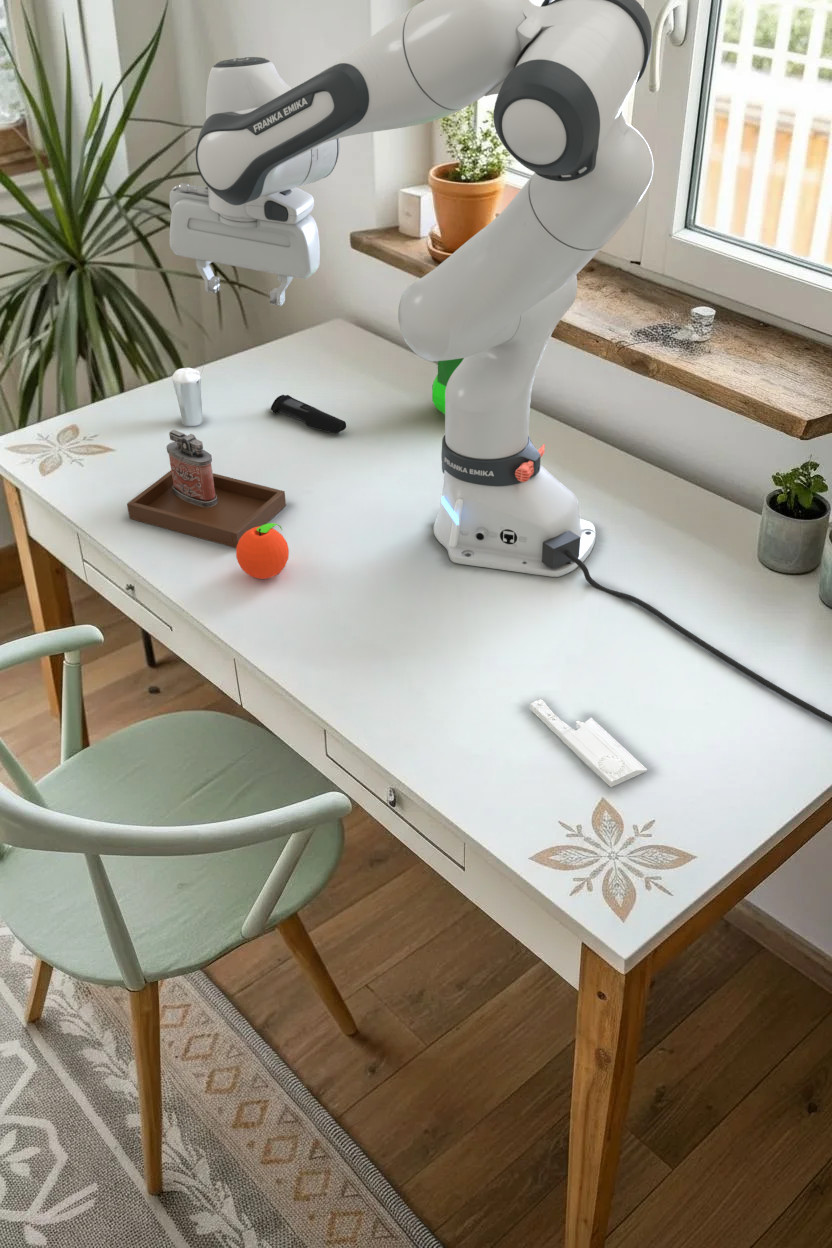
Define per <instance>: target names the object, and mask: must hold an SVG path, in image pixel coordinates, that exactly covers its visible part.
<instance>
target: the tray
mask: <svg viewBox="0 0 832 1248" xmlns="http://www.w3.org/2000/svg"><path fill="white" fill-rule="evenodd" d="M212 473H213V481H214V488H215V494H216V495H217V504H216V505H214V506H212V507H202V506H198V505H195V504H192V503H190V502H187V501H185V500H183V499H181V498H180V497H178V496H177V495H175V494H174V493H173V478H172V472H171V470H169V471H168V472H166V474H164V475H163V476H161V477H160V478H158V479H157V480H156V481H155V482H153V483H152V484H150V486H148V487H146V489H144V490H143V491H142V492H140V493H138V494H137V495H136V496H134V497H133V498H132V499H131V500H130V501H128V502H127V503H126V507H127V512H128V513H127V514H128V518H129V520H134V521H137V522H140V523H144V524H148V525H151V526H154V527H158V528H162V529H165V530H168V531H169V530H170V531H172V532H177V533H180V534H184V535H186V536H191V537H195V538H198V539H201V540H205V541H208V542H213V543H216V544H218V545H219V544H220V545H223V546H227V547H231V548H234V549H236V547H237V544H238V541H239V539H240V538H241V537H242V535H243V534H244V533H245V532H246V531H248V530H250V529H252V528H254V527H258V526H262V525H264V524H268V523H270V521H271V520H272V519H274V518H275V517H276V516H277V515H278V514H279V513H280V512H281V511H282V510H284V509H285V508H286V507H287V502H286V491H285V490H281V489H277V488H275V487H274V488H273V487H269V486H265V485H262V484H258V483H253V482H249V481H246V480H242V479H239V478H238V479H237V478H234V477H230V476H225V475H222V474H218V473H214V472H212Z"/></svg>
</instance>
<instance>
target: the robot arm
mask: <svg viewBox="0 0 832 1248" xmlns="http://www.w3.org/2000/svg"><path fill="white" fill-rule="evenodd" d="M652 44H653V31H652V25H651V21H650V19H649V16H648V14H647V12H646V10H645V9H644V8H643V6H642V5H641V4H640V3H639V2H638V1H637V0H543V2H542V3H541V5H540V6H538V5H535V4H533V3H532V2H531V0H422V1H420V2H419V3H417V4H415V5H414V6H413V7H411V8H409V9H408V10H406V11H405V12H403V13H402V14H401V15H399V16H398V17H396V18H395V19H394V20H392V21H391V22H389V23H388V24H387V25H385V26H383V28H381V29H380V30H378V31H377V32H376V33H374V34H373V35H372V36H370V37H369V38H368V39H366V40H365V41H364V42H362V43H361V44H359V45H358V46H356V47H355V48H354V49H353V50H351V51H349V52H348V53H346V54H345V55H344V56H342V57H341V58H339V59H338V60H336V61H335V62H333V63H332V64H331V65H330V66H328V67H327V68H325V69H324V70H323V71H321V72H320V73H318V74H316V75H314V76H312V77H311V78H309V79H308V80H305V81H304V82H302V83H300V84H298V85H297V86H295V87H291V86H290V85H289V84H288V83H286V81H284V80H283V79H282V77H281V76H280V75H279V72H278V69H277V68H276V66H275V64H274V62H272V61H271V60H269V59H266V58H265V57H260V56H259V57H258V56H248V57H241V58H239V57H236V58H231V59H225V60H221V61H219V62H216V64H214V65H213V66H212V67H211V69H210V72H209V75H208V78H207V85H206V93H205V94H206V95H205V121H204V123H203V125H202V127H201V129H200V132H199V134H198V137H197V140H196V146H195V164H196V168H197V170H198V173H199V175H200V177H201V179H202V181H203V182H204V184H205V185H206V186H203V185H194V184H193V185H192V184H190V183H186V182H180V183H179V184H178V185H174V186H173V187H172V188H171V190H170V191H169V195H168V197H169V209H170V211H171V215H170V224H169V248H170V249H171V251H172V253H173V255H175V256H179V257H184V258H189V259H193V260H194V259H195V267H196V269H197V270H198V272H199V274H200V276H201V277H202V280H204V291H205V292H207V293H213V294H217V293H218V292H219V291H220V290H221V284H220V283H221V277H220V276H215V274H214V272H213V270H212V267H211V266H210V264H212V263H215V264H222V265H227V266H232V267H238V268H242V269H248V270H253V271H257V272H258V271H259V272H262V273H263V272H265V273H270V274H273V275H274V274H275V275H277V282H279V283H280V284H279V286H278V287H274V288H273V289H272V290H270V291H269V298H270V299H269V304H270V305H273V306H279V307H281V306H283V305H284V304H285V302H286V290H287V289H288V287H289V286H290V284H291V282H292V281H293V280H294V278H295V279H302V280H307V279H309V278H311V276H312V275H313V274H315V273H316V272H317V270H318V269H319V267H320V264H321V246H320V245H321V244H320V234H319V228H318V224H317V222H316V219H315V218H314V217H313V216H312V215H311V214H310V213H311V212H312V211H313V210H314V208H315V199H314V197H313V195H312V194H310V193H309V192H307V191H305V190H303V189H301V188H299V187H303V186H307V185H310V184H313V183H316V182H319V181H321V180H323V179H325V178H328V176H330V175H331V174H332V173H333V171H334V169H335V167H336V165H337V163H338V160H339V154H340V139H341V138H344V137H349V136H350V137H351V136H355V135H360V134H361V135H362V134H368V133H375V132H382V131H390V130H396V129H403V128H408V127H413V126H414V127H415V126H418V125H424V124H427V123H431V122H434V121H438V120H441V119H444V118H446V117H448V116H451V115H453V114H455V113H458V112H459V111H461V110H463V109H465V108H467V107H468V106H470V105H472V104H474V103H475V102H477V101H479V100H480V99H482V98H483V97H488V96H493V95H497V96H496V99H495V102H494V106H493V107H494V108H493V114H492V115H493V117H492V119H493V126H494V129H495V132H496V135H497V136H498V138H499V140H500V142H501V144H502V145H503V147H504V148H505V149H506V150H507V152H508V153H509V155H511V156H512V157H513V158H514V159H515V160H516V161H517V162H518V163H520V165H522V166H524V168H526V169H528V170H529V171H531V172H533V174H532V175H531V176H530V178H529V179H527V181H526V183H524V185H523V186H522V188H521V189H520V190H519V191H518V192H517V194H516V195H515V196H514V197H513V198H512V200H511V201H510V202H509V203H508V204H507V205H506V206H505V208H504V209H503V210H502V212H500V213H499V214H498V215H497V216H495V218H494V219H493V220H492V221H490V222H489V223H488V224H487V225H486V226H484V227H483V228H482V229H480V230H479V231H478V232H477V233H476V234H474V235H473V236H471V237H470V238H469V239H468V240H467V241H466V242H464V244H462V245H461V246H459V248H457V249H456V250H454V252H453V253H452V254H451V255H449V256H448V257H447V258H446V259H444V260H443V261H442V262H441V263H439V264H438V265H437V266H436V267H434V269H432V270H431V271H429V272H428V273H426V274H425V275H424V276H422V277H420V278H419V279H418V280H416V281H414V282H413V283H411V284H409V286H407V287H406V288H405V289H404V291H402V292H403V293H402V294H401V296H400V299H399V304H398V310H397V311H398V313H397V318H398V319H397V320H398V326H399V331H400V333H401V335H402V338H403V339H404V341H405V343H406V344H407V346H408V347H409V348H410V350H411V351H412V352H413V353H414V354H416V355H417V356H418V357H419V358H420V359H422V360H425V361H427V362H438V361H445V360H453V359H460V358H464V359H463V360H462V362H461V363H460V365H459V366H458V367H457V368H456V369H455V371H454V372H453V373H452V375H451V377H450V378H449V380H448V383H447V386H446V390H445V414H444V435H443V436H442V439H441V452H440V453H441V454H440V455H441V456H440V457H441V472H442V474H443V481H442V490H441V496H440V501H439V507H438V512H437V516H436V518H435V521H434V524H433V534H434V537H435V538H436V540H437V541H438V542H439V543H440V544H441V545H442V546H443V547H444V548H445V549H446V550H447V554H448V558H449V559H450V561H451V562H453V563H455V564H459V565H466V566H472V567H480V568H487V569H494V570H502V571H508V572H515V573H523V574H528V575H529V574H531V575H537V576H543V577H551V578H558V577H561V576H562V577H563V576H564V575H567V574H569V573H571V572H573V571H574V570H576V569H577V568H579V569H580V570H581V572H582V573H583V575H584V578H585V580H586V582H587V583H589V585H590V586H591V587H593V588H595V589H597V590H599V591H602V592H603V593H607V594H608V595H612V596H614V597H616V598H620V599H622V600H626V601H629V602H632V603H634V604H636V605H637V606H639V607H641V608H643V609H645V610H646V611H648V612H650V613H651V614H653V615H654V616H655V617H657V618H658V619H660V620H661V621H662V622H663V623H665V624H667V625H668V626H669V627H671V628H672V629H674V630H675V631H677V632H678V633H680V634H681V635H683V636H684V637H686V638H688V639H689V640H691V641H693V642H694V643H695V644H697V645H699V646H700V647H701V648H703V649H705V650H706V651H708V652H709V653H711V654H713V655H714V656H715V657H717V658H719V659H720V660H722V661H724V662H725V663H727V664H728V665H730V666H732V667H733V668H735V670H738V671H740V672H741V673H743V674H744V675H746V676H748V677H749V678H751V679H753V680H754V681H756V682H757V683H759V684H761V685H762V686H765V687H766V688H768V689H769V690H771V691H773V692H774V693H777V694H778V695H780V696H782V697H783V698H785V699H787V700H788V701H790V702H792V703H794V704H795V705H797V706H799V707H801V708H802V709H804V710H806V711H808V712H810V713H812V714H813V715H815V716H817V717H819V718H821V719H823V720H825V721H826V722H828V723H830V724H832V715H830V714H828V713H826V712H825V711H822V710H821V709H820V708H817V707H816V706H813V705H812V704H810V703H809V702H807V701H805V700H803V699H801V698H799V697H797V696H796V695H794V694H792V693H790V692H788V691H787V690H785V689H783V688H781V686H778V685H776V684H775V683H773V682H771V681H770V680H768V679H766V678H764V677H763V676H761V675H759V674H758V673H756V672H755V671H752V670H751V669H749V668H748V667H746V666H744V665H743V664H742V663H740V662H738V661H736V660H735V659H733V658H732V657H729V655H727V654H725V653H724V652H721V651H720V650H719V649H717V648H716V647H714V646H713V645H711V644H709V643H708V642H706V641H704V640H703V639H702V638H700V637H698V636H697V635H695V634H693V633H692V632H691V631H690V630H687V629H686V628H684V627H683V626H682V625H680V624H678V623H677V622H675V621H674V620H673V619H671V618H670V617H669V616H667V615H665V614H664V613H662V612H661V611H660V610H658V609H657V608H655V607H654V606H652V605H650V604H649V603H647V602H645V601H644V600H642V599H640V598H638V597H636V596H633V595H631V594H628V593H624V592H620V591H617V590H613V589H610V588H607V587H605V586H603V585H601V584H600V583H599V582H597V581H595V579H593V578H592V577H591V574H590V571H589V568H588V567H587V565H586V564H585V563H584V562H585V561H586V560H587V558H588V557H589V556H590V554H591V552H592V550H593V549H594V547H595V543H596V538H597V537H596V528H595V525H594V523H592V522H591V521H589V520H586V519H584V518H581V513H580V512H581V510H580V505H579V502H578V501H579V500H578V498H577V496H576V495H575V493H574V492H573V491H572V490H570V489H569V488H568V487H566V486H565V485H564V484H563V483H561V482H560V481H559V480H558V478H556V477H555V476H553V475H552V474H551V473H550V472H549V471H548V470H547V469H546V468H545V467H544V466H542V465H541V458H542V457H543V456H544V454H545V452H546V450H545V448H546V444H544V443H543V444H542V445H541V446H540V447H539V448H538V449H537V448H536V446H535V445H534V444H533V441H532V439H531V437H530V435H529V429H530V413H531V402H532V401H531V400H532V391H533V387H534V381H535V379H536V375H537V372H538V368H539V366H540V364H541V361H542V358H543V355H544V352H545V351H546V348H547V345H548V343H549V341H550V339H551V337H552V334H553V333H554V331H555V329H556V328H557V326H558V325H559V323H560V321H561V320H562V318H563V317H564V316H565V315H566V314H567V312H568V311H570V309H571V308H572V306H573V305H574V303H575V300H576V297H577V293H578V276H577V275H578V274H579V273H580V272H581V271H582V269H584V268H585V266H586V265H587V264H588V263H589V262H590V261H591V260H593V258H595V256H596V255H597V254H598V253H599V252H601V250H602V249H603V248H604V247H605V246H606V245H607V244H608V243H609V242H610V241H611V239H612V238H613V237H614V236H615V235H616V234H617V233H618V232H619V230H620V229H621V228H622V226H623V225H624V224H625V223H626V222H627V221H628V219H629V218H630V216H631V215H632V213H633V212H634V211H635V209H636V208H637V207H638V205H639V203H640V202H641V200H642V198H643V197H644V195H645V194H646V192H647V190H648V188H649V186H650V184H651V182H652V178H653V175H654V159H653V158H654V157H653V153H652V151H651V148H650V146H649V143H648V142H647V141H646V139H645V138H644V136H643V135H642V134H641V133H640V132H639V131H638V130H637V129H636V128H635V127H633V126H632V125H631V124H629V123H627V122H626V119H625V116H624V112H623V111H622V109H623V107H624V105H625V103H626V102H627V100H628V99H629V96H630V95H631V93H632V92H633V89H634V87H635V85H636V84H637V83H638V82H639V81H640V79H641V78H642V76H643V75H644V73H645V71H646V69H647V65H648V62H649V59H650V56H651V51H652V46H653V45H652Z"/></svg>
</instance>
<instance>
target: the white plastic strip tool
mask: <svg viewBox="0 0 832 1248" xmlns="http://www.w3.org/2000/svg"><path fill="white" fill-rule="evenodd" d="M529 710H531V712H532V713H534V715H535V716H537V717H538V718H539V719H540V720H541V721H542V723H544V724H545V725H546V726H547V728H549V729H550V730H551V731H552V732H553V733H554V734H555V735H556V736H557V737H558V738H559V739H560V740H561V741H562V742H563V743H564V744H565V745H566V746H567V747H568V748H569V749H570V750H571V751H572V752H573V753H574V754H575V755H576V756H577V757H578V758H579V759H580V760H581V761H582V762H583V763H584V764H585V765H586V766H587V767H588V768H589V769H590V770H591V771H592V772H593V773H594V774H596V775H597V776H598V777H599V778H600V779H602V781H603V782H604V783H605V784H607V785H608V786H609V788H613V787H614V786H617V785H619V784H621V783H624V782H626V781H628V780H630V779H632V778H635V777H637V776H639V775H642V774H644V773H646V772H648V768H647V767H645V766H644V765H643V764H642V763H641V762H640V761H639V759H636V757H635V756H633V754H631V753H630V752H629V751H628V750H627V749H626V748H625V747H624V746H623V745H622V744H621V743H620V742H618V741H617V740H616V739H615V738H614V737H613V736H612V735H611V734H610V733H609V732H608V731H607V730H606V729H604V728H603V727H602V726H601V725H600V724H599V723H598V722H597V721H596V720H595V719H594V718H592V717H590V718H588V719H587V720H586V721H585V722H583V721H581V720H576V721H575V729H574V728H573V727H571V726H570V725H569V724H568V723H566V722H564V721H563V720H562V719H561V718H559V717H558V715H556V714H555V713H554V712H553V711H552V709H551V708H550V707H549V706H548V705H547V703H546V702H545V701H544V700H543V698H540V699H538V700H534V701H533V702H530V703H529Z"/></svg>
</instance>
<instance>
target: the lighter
mask: <svg viewBox="0 0 832 1248" xmlns="http://www.w3.org/2000/svg"><path fill="white" fill-rule="evenodd" d="M168 436H169V440H170V441H172V442H169V443H168V444H167V445H166V453H167V454H168V458H169V464H170V471H171V472H172V478H173V493H174V494H175V495H177V496H178V497H180V498H181V499H183V500H185V501H187V502H190V503H192V504H195V505H198V506H202V507H212V506H214V505H216V504H217V495H216V494H215V488H214V481H213V473H214V472H213V466H212V463H213V457H212V456H213V455H212V454H211V453H209V452H208V451H206V450H205V449H204V444H203V441H202V440H200V439H197V438H196V436H195V434H192V433H189V434H188V435H187V434H185V433H184V432H182V431H179V430H176V429H171V430H169V433H168Z"/></svg>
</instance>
